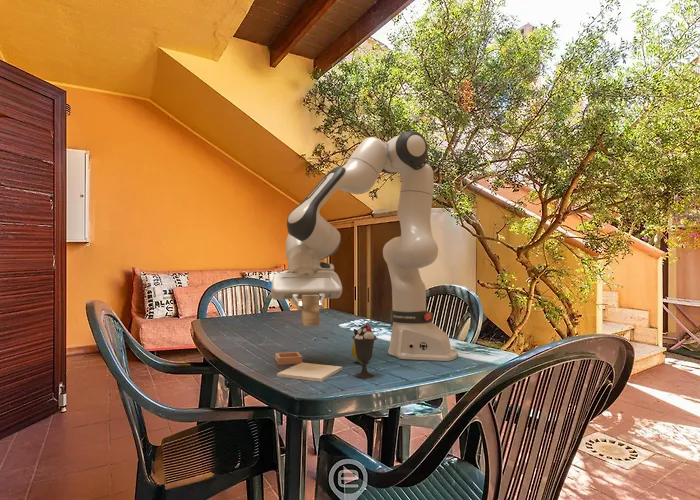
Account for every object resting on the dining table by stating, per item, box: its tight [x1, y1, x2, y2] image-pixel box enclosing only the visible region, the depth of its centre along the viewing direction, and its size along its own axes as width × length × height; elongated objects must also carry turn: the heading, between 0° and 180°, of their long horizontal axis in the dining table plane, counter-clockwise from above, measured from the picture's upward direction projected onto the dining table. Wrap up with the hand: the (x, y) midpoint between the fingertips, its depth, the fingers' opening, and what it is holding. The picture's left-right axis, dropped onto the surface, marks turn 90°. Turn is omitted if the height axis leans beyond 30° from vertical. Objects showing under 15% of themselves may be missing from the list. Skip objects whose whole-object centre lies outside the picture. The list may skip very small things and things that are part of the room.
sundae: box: [351, 318, 378, 379], centre depth 109 cm, size 7×7×15 cm
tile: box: [276, 362, 343, 383], centre depth 112 cm, size 13×13×1 cm
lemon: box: [351, 341, 362, 364], centre depth 124 cm, size 6×6×8 cm
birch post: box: [301, 295, 320, 327], centre depth 113 cm, size 4×4×8 cm
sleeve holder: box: [274, 351, 303, 366], centre depth 125 cm, size 7×7×2 cm
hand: (310, 308), depth 113 cm, fingers closed on birch post, 4 cm apart
